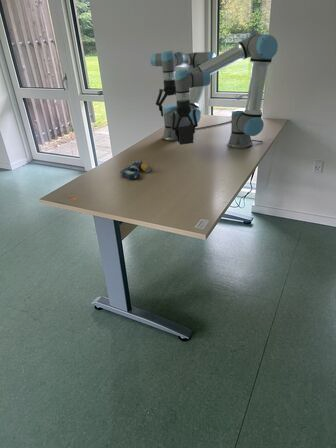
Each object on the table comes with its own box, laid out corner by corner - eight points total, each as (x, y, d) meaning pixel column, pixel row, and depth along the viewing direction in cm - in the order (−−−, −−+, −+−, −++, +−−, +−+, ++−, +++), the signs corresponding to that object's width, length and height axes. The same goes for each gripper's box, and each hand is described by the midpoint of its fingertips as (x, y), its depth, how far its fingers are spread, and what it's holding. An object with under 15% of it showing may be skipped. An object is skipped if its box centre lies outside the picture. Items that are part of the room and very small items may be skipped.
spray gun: (156, 167, 200) (135, 165, 206) (156, 160, 198) (134, 158, 204) (139, 182, 185) (117, 179, 191) (138, 174, 183) (115, 172, 189)
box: (171, 132, 219) (169, 115, 214) (183, 130, 220) (182, 114, 215) (180, 144, 196) (179, 127, 191) (193, 142, 197) (192, 125, 192)
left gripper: (151, 83, 200) (155, 118, 212) (190, 77, 204) (192, 112, 216) (148, 81, 206) (152, 116, 218) (186, 75, 211) (188, 110, 222)
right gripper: (166, 103, 183) (169, 144, 195) (202, 99, 185) (203, 139, 197) (163, 101, 189) (167, 140, 201) (199, 96, 192) (200, 135, 203)
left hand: (172, 114), depth 217 cm, fingers open, 13 cm apart
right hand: (185, 139), depth 199 cm, fingers closed on box, 8 cm apart
